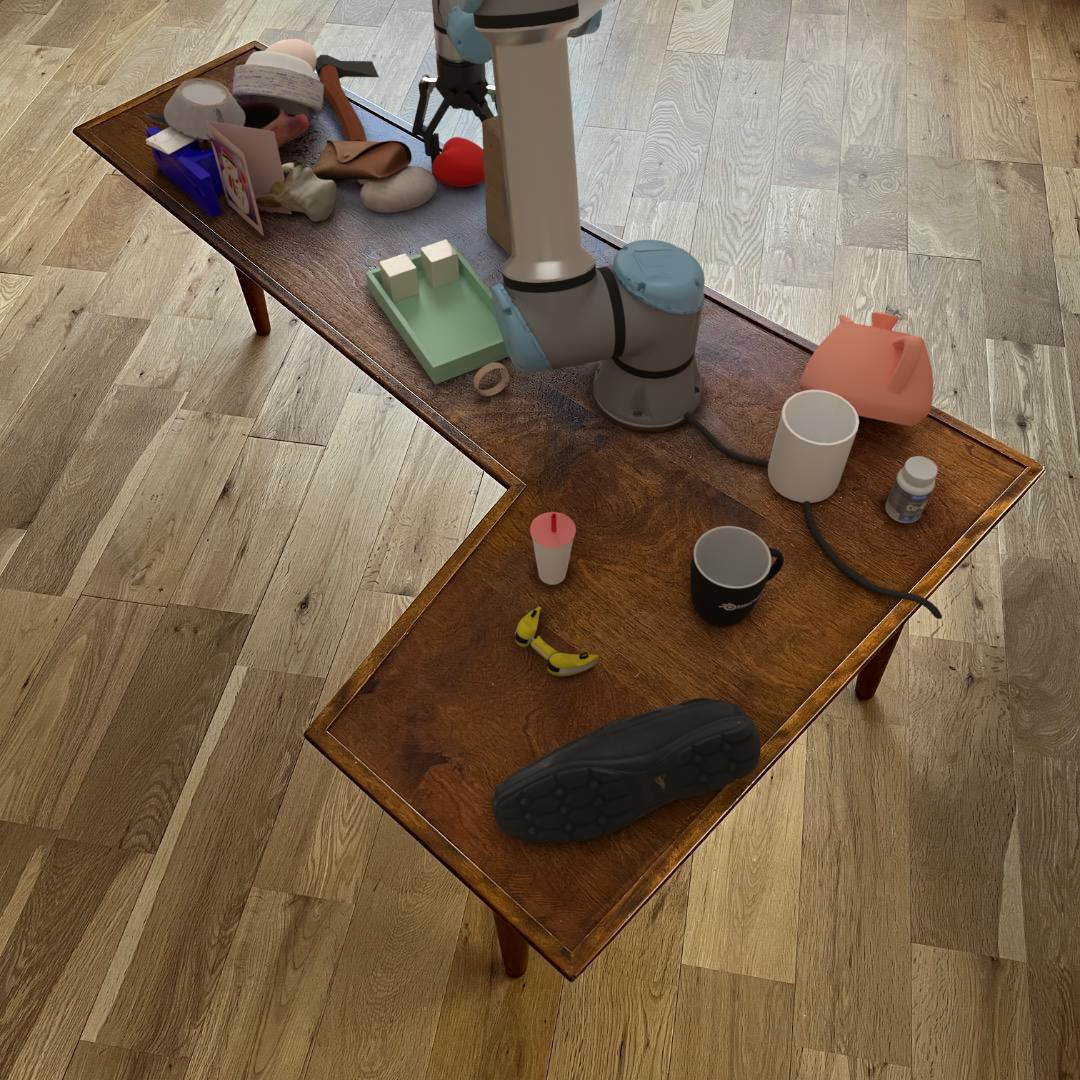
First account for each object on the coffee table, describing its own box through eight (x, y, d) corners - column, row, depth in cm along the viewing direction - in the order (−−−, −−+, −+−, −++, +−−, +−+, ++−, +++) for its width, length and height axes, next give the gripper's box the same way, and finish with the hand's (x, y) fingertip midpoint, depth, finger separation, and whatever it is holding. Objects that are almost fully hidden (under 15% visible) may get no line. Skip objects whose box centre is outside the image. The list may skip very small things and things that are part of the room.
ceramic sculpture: (313, 184, 168) (235, 159, 172) (316, 236, 174) (241, 211, 178) (353, 161, 175) (277, 137, 180) (355, 212, 181) (282, 188, 185)
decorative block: (552, 257, 172) (553, 144, 156) (521, 270, 170) (520, 157, 155) (515, 220, 178) (513, 108, 162) (485, 232, 176) (480, 119, 160)
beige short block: (419, 294, 166) (416, 267, 162) (393, 303, 165) (389, 277, 161) (408, 279, 168) (405, 252, 164) (382, 288, 167) (378, 261, 163)
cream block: (459, 280, 168) (457, 253, 164) (433, 289, 167) (431, 262, 163) (448, 265, 170) (446, 238, 166) (422, 274, 169) (419, 247, 165)
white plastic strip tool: (235, 118, 184) (234, 112, 183) (168, 155, 175) (167, 149, 174) (213, 108, 185) (212, 102, 184) (146, 144, 177) (144, 137, 176)
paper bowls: (340, 76, 194) (334, 122, 195) (261, 67, 197) (256, 112, 198) (305, 48, 179) (299, 99, 180) (220, 39, 182) (215, 89, 183)
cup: (561, 597, 133) (562, 538, 124) (522, 580, 135) (521, 520, 125) (581, 566, 136) (584, 506, 126) (543, 549, 138) (544, 488, 128)
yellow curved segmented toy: (498, 640, 128) (506, 619, 126) (534, 622, 133) (542, 601, 131) (558, 693, 124) (567, 672, 122) (593, 672, 128) (602, 651, 126)
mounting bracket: (145, 130, 181) (177, 116, 183) (158, 168, 187) (189, 154, 189) (200, 179, 173) (233, 165, 175) (211, 217, 178) (243, 203, 181)
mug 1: (705, 647, 129) (716, 598, 121) (670, 589, 134) (679, 539, 126) (793, 614, 132) (810, 564, 124) (756, 558, 137) (770, 508, 129)
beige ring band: (510, 392, 154) (509, 366, 150) (480, 403, 153) (478, 378, 149) (501, 380, 156) (501, 354, 152) (471, 391, 154) (470, 366, 150)
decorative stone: (372, 228, 176) (368, 202, 172) (355, 197, 181) (350, 171, 177) (446, 209, 180) (444, 182, 176) (427, 179, 184) (425, 153, 180)
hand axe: (409, 156, 191) (371, 70, 209) (411, 138, 189) (372, 52, 206) (342, 157, 187) (308, 69, 205) (343, 139, 185) (309, 51, 202)
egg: (241, 59, 198) (292, 24, 199) (268, 102, 203) (317, 69, 205) (255, 63, 191) (308, 27, 193) (282, 108, 196) (333, 73, 198)
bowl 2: (224, 183, 184) (213, 140, 177) (210, 142, 191) (198, 99, 185) (317, 162, 187) (310, 120, 181) (300, 123, 194) (292, 81, 188)
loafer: (506, 869, 110) (489, 816, 120) (774, 800, 115) (737, 754, 124) (489, 781, 107) (473, 733, 116) (766, 714, 111) (729, 673, 121)
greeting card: (222, 205, 180) (200, 122, 168) (261, 187, 183) (242, 105, 171) (259, 238, 175) (238, 155, 163) (298, 220, 178) (281, 137, 166)
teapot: (766, 393, 157) (789, 299, 154) (873, 415, 160) (898, 323, 157) (834, 411, 133) (863, 301, 130) (959, 438, 135) (990, 330, 133)
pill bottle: (902, 530, 140) (920, 487, 133) (876, 505, 142) (893, 462, 135) (929, 514, 141) (949, 472, 134) (903, 490, 144) (921, 447, 137)
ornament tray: (525, 350, 160) (524, 333, 157) (434, 384, 155) (433, 367, 153) (453, 259, 172) (452, 242, 169) (368, 289, 168) (365, 272, 165)
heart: (501, 172, 189) (446, 154, 189) (506, 143, 185) (450, 125, 185) (483, 205, 181) (425, 186, 181) (488, 175, 177) (429, 157, 177)
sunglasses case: (301, 177, 183) (303, 135, 182) (331, 183, 189) (333, 142, 187) (383, 179, 174) (385, 134, 172) (411, 184, 179) (413, 142, 178)
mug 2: (785, 513, 141) (803, 453, 132) (746, 447, 148) (760, 385, 139) (851, 495, 143) (873, 434, 133) (809, 431, 150) (827, 369, 140)
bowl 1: (146, 95, 173) (148, 122, 177) (220, 125, 173) (220, 151, 177) (188, 59, 181) (189, 86, 185) (259, 88, 181) (258, 114, 185)
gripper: (537, 46, 168) (537, 172, 186) (396, 29, 171) (409, 154, 189) (526, 72, 163) (527, 198, 181) (381, 54, 166) (396, 180, 184)
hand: (467, 176), depth 185 cm, fingers open, 10 cm apart
